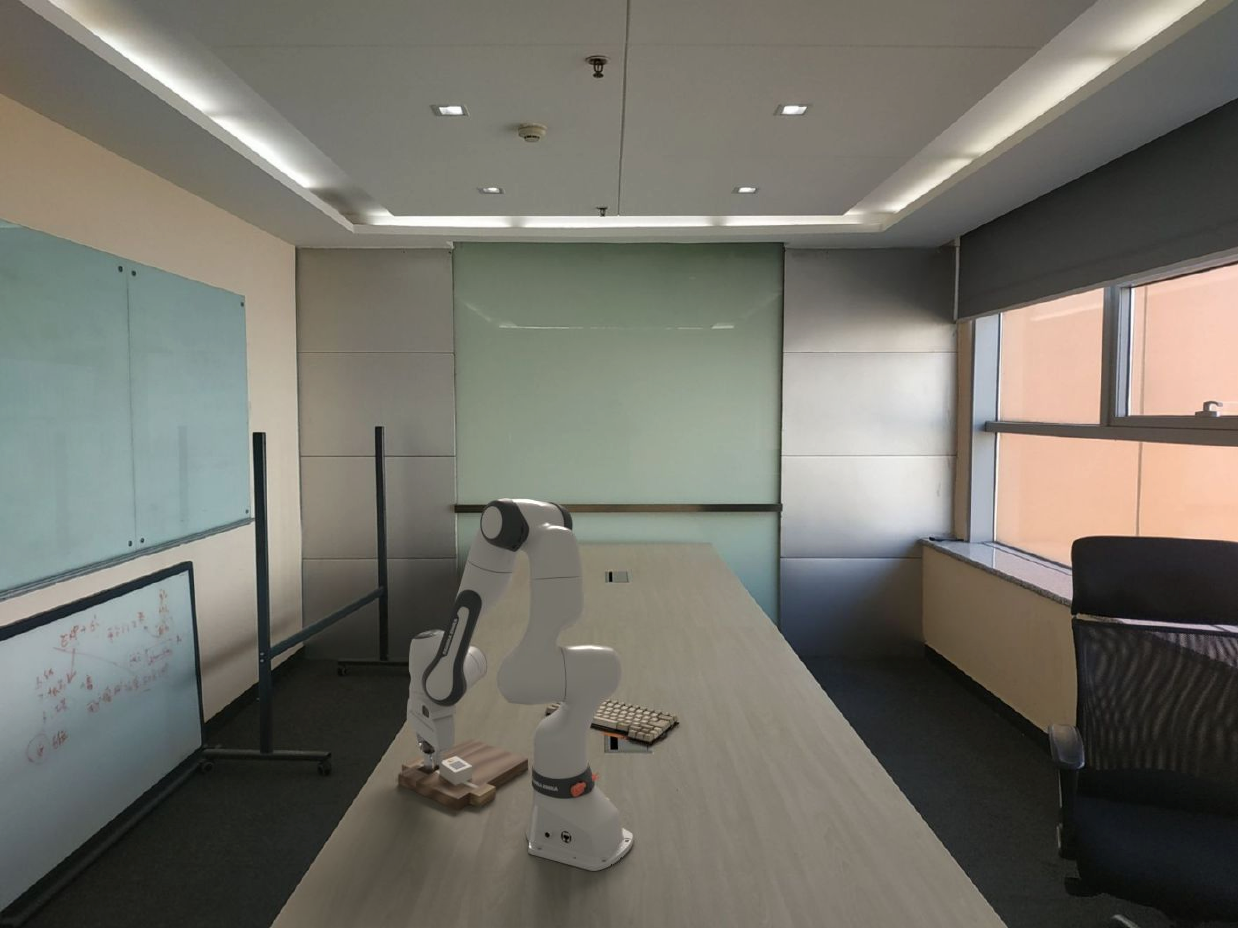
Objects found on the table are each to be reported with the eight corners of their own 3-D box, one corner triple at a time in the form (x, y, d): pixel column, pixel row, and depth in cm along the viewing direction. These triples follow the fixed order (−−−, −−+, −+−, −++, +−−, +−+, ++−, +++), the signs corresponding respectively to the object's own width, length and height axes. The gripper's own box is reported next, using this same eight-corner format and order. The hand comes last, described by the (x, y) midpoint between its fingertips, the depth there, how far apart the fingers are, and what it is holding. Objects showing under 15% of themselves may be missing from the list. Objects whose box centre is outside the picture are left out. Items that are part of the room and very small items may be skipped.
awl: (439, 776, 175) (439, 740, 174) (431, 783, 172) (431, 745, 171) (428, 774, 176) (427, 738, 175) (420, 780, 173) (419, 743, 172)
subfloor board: (537, 772, 177) (537, 762, 177) (467, 814, 158) (467, 803, 158) (462, 744, 192) (461, 735, 192) (390, 780, 173) (389, 770, 173)
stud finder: (472, 778, 169) (472, 765, 169) (455, 785, 166) (455, 771, 165) (456, 768, 174) (456, 755, 174) (439, 774, 171) (439, 761, 170)
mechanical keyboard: (537, 720, 210) (537, 708, 209) (573, 698, 226) (573, 687, 226) (654, 750, 191) (654, 737, 191) (684, 724, 208) (684, 712, 207)
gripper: (399, 688, 179) (400, 743, 180) (433, 715, 163) (434, 775, 164) (424, 683, 183) (425, 736, 184) (459, 709, 167) (460, 767, 167)
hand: (429, 755), depth 173 cm, fingers open, 8 cm apart
